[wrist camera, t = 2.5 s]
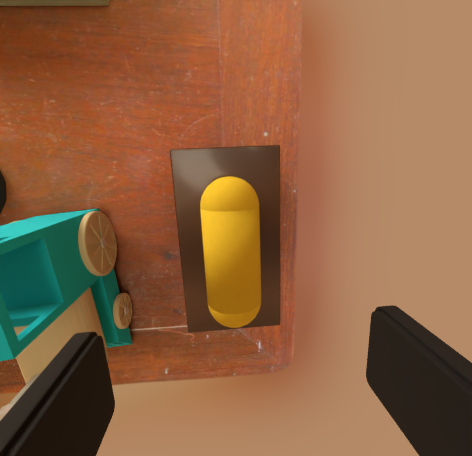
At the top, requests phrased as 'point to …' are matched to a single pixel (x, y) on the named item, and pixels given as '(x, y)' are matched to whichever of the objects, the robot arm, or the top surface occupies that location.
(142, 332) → the top surface
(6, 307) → the toy train
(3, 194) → the mug
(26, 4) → the tray
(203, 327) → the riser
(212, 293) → the yellow capsule toy
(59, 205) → the top surface
